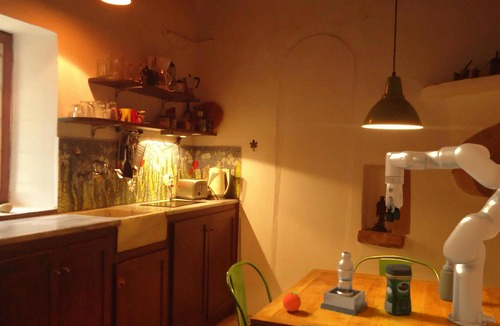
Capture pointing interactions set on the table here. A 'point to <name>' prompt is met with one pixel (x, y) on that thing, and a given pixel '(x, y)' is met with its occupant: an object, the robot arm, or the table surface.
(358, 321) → the table surface
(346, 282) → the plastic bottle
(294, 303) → the clementine
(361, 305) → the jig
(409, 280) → the coffee jar
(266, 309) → the table surface
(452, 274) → the squeeze bottle
